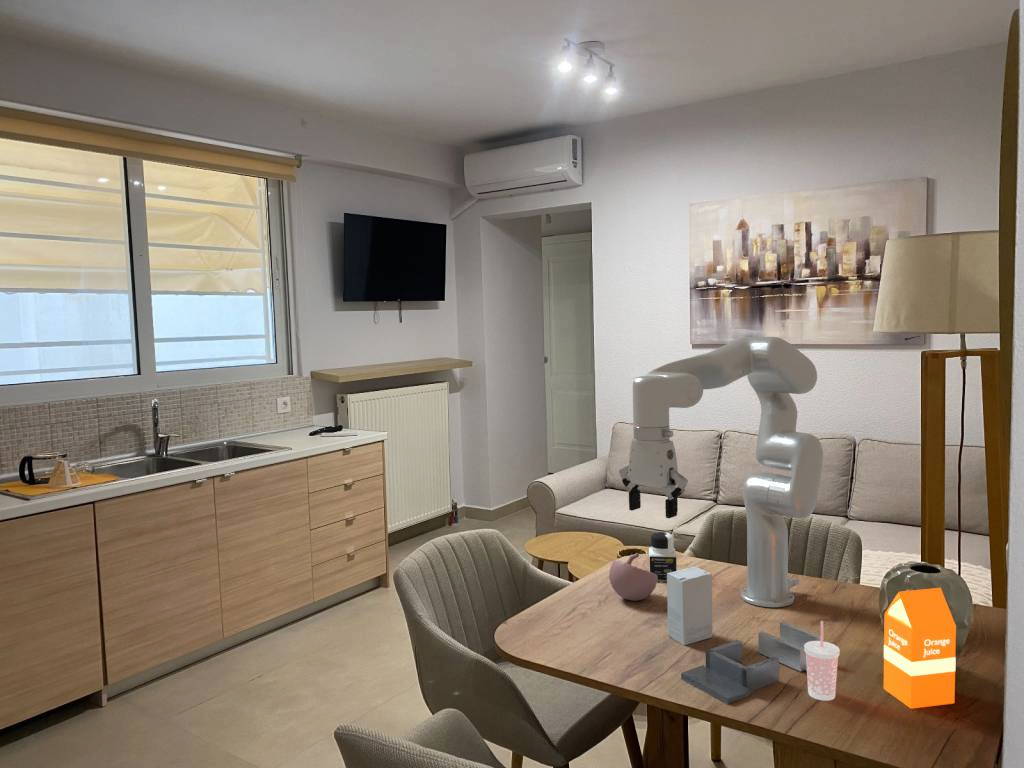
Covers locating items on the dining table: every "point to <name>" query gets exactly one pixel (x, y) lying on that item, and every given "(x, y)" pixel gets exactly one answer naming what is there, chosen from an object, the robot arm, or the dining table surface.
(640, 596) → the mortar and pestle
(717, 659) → the fixed leaf
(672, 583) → the skincare box
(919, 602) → the orange juice
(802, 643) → the gray u-channel trough
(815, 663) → the beverage cup
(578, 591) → the dining table surface
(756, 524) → the robot arm
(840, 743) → the dining table surface
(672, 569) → the medicine bottle
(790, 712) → the dining table surface
